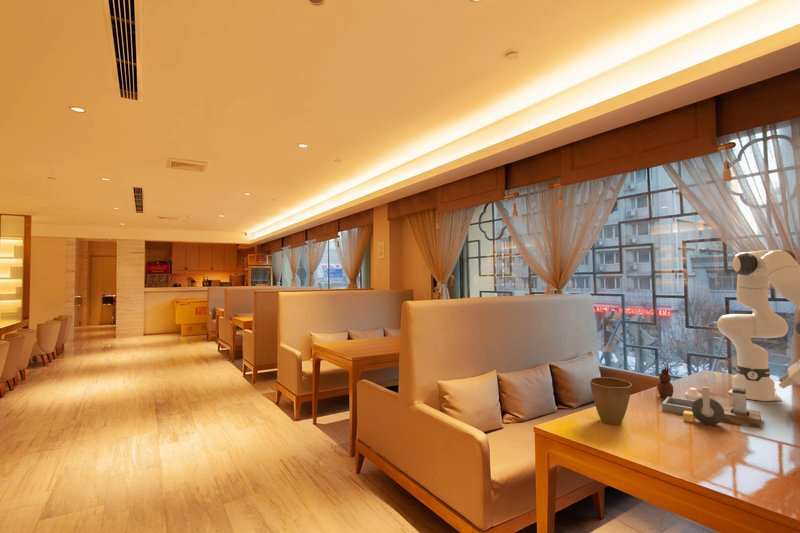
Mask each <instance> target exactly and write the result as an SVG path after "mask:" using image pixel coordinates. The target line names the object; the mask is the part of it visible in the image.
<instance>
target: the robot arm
mask: <svg viewBox="0 0 800 533" xmlns="http://www.w3.org/2000/svg"><path fill="white" fill-rule="evenodd" d="M731 266H732V269H733V271H734V273H736V274H737V278H736V301H737V303H738V304H740V305H741V306H742V307H745V308H747V309H750V310H752V313H729V314H724V315H723V314H722V315H721V316H720V317H719V318H718V320H717V321H716V326H717V329H718V331H719V332H720V334H721V335H724V336H725V337H727V338H728V339H729V340H730V341H731V342H732V343H733V345H734V347H735V351H736V356H737V357H736V358H737V365H736V368H735V369H736V374H735V375H734V376H732V388H731V389H729V390H728V391H727V392H728V394H730V395H732V389H733V387H734V388H741V389H746V400H747V399H749V400H755V401H760V402H762V401H764V402H771V401H773V402H774V401H782V398H781V396H779V395H778V394H777V393H776V391H777V390H776V385H775V384H776V383H775V381H774V380H773V379H772V378H771V377H770V376H771V369H770V368H769V353H768V351H767V349H765V348H764V347H763V346H760V345H758V344H756V343H753V342H752V338H758V339H774V338H775V339H776V338H783V337H785V335H786V334H787V333H788V331H789V324H788V323H787V322H788V321H786V319H785V318H783V317H782V316H780V315H779V314H777V313H776V312H775V311H774V310H773V308H771V305H770V302H769V294H768V293H769V290H768V289H769V284H770V285H771V286H772V287H773V289H774V290H775V291H776V292H777V293H778V294H779V295H780V296H781V297H783V298H785V299H786V300H787V301H789V302H790V303H791V304H793V305H794V306H795V307H796V309H798V310H799V311H800V264H799V263H798V262H797V257H796V255H795V253H793V252H792V250H791V251H790V250H788V249H762V250H753V251H748V252H747V251H744V252H743V251H742V252H738V253H736V254H735V255H734V257H733V258H732V260H731ZM795 332H796V333H797V334H798V336H800V319H799V320H798V321H797V322H796V324H795ZM778 381H779V382H780V383H779V384H778V385H779V387H780V388H781V389H786V388H788V387H789V386H793V385H794V384H795V385H797V386H800V359H798V360H797V361H796V362H795V363H793V364H791V365H790V366H789V367H788V368H787V372H786V373H784V374H783V376H781V377H779V378H778Z"/></svg>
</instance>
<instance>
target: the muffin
mask: <svg viewBox="0 0 800 533" xmlns="http://www.w3.org/2000/svg"><path fill="white" fill-rule="evenodd" d="M684 396H685V399H687V400H694V401H695V400H697V399H698V398H701V397H702V394H700V392H699V391H698V389H697V388H695V387H690V388H689V387H688V389H687V391H686V392H684Z"/></svg>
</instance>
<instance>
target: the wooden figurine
mask: <svg viewBox="0 0 800 533" xmlns="http://www.w3.org/2000/svg"><path fill="white" fill-rule="evenodd" d="M658 377H659V378H658V379H659V381H658V383H657V391H658V395H659V396H660V397H661V398H664V399H666V398H667V397H668V396H669V397H673V395H674V386H673V384H672V383H671V381H672V378H671V375H670V372H669V366H664V368H662V369H661V372H660V374H659V376H658Z"/></svg>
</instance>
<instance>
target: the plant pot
mask: <svg viewBox="0 0 800 533" xmlns="http://www.w3.org/2000/svg"><path fill="white" fill-rule="evenodd" d="M589 385H590V388H591V389H590V390H591V395H592V398H593V402H594V405H595V409H596V411H597V414H598V416H599V419H600V421H601V423H604V424H606V425H611V426H619V425H621V424H622V423H623V420H624V418H625V416H626V413H627V410H628V406H629V402H630V398H631V392H632V383H631V382H629V381H627V380H624V379H620V378H616V377H608V376H607V377H606V376H603V377H602V376H599V377H597V376H596V377H593V378H590V379H589Z"/></svg>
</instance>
